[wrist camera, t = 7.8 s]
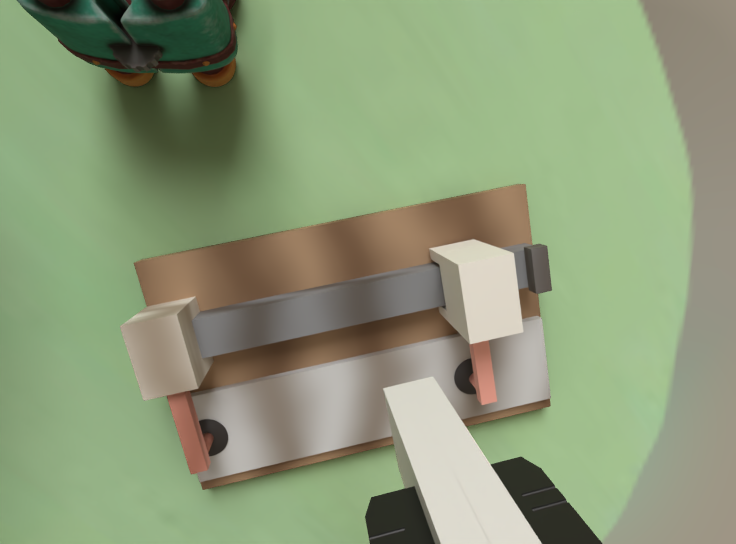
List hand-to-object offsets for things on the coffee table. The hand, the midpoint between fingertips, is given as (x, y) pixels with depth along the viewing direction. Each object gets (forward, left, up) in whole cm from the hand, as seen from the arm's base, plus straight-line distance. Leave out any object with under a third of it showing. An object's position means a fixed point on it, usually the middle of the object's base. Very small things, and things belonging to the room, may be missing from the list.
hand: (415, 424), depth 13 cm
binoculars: (-8, +19, -18) cm, 27 cm away
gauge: (-1, -3, -18) cm, 18 cm away
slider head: (+6, -3, -16) cm, 18 cm away
